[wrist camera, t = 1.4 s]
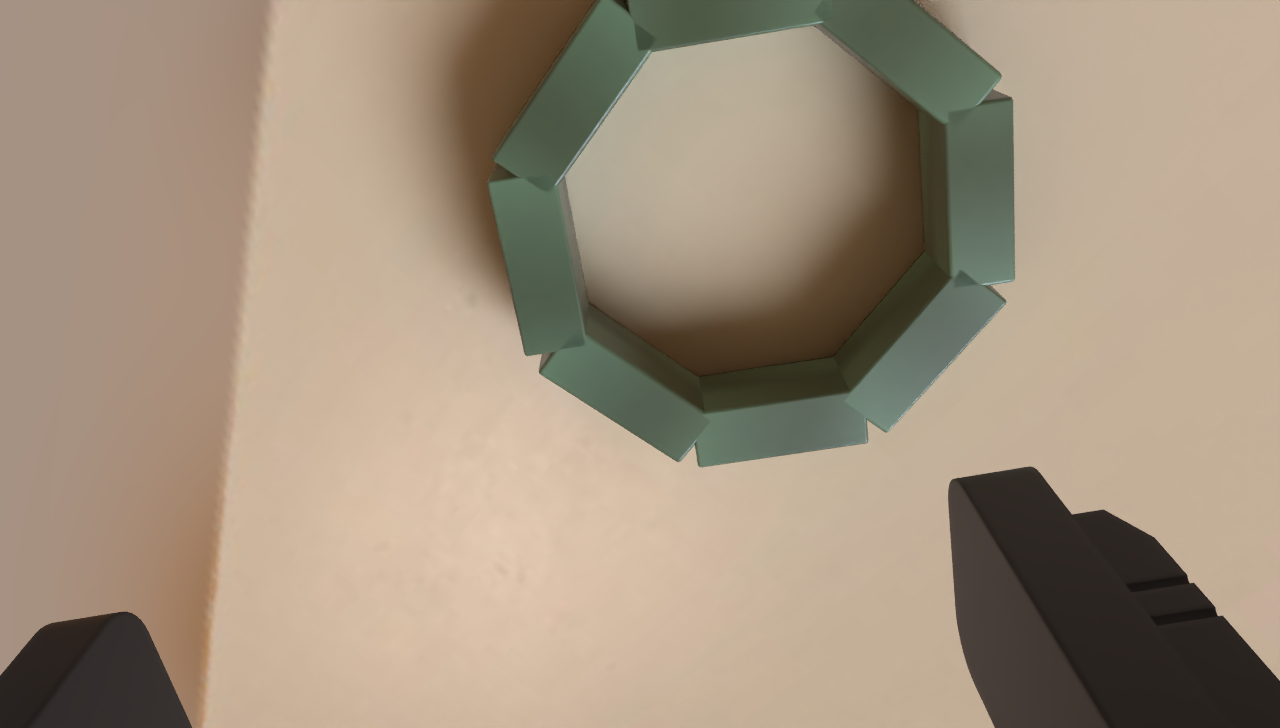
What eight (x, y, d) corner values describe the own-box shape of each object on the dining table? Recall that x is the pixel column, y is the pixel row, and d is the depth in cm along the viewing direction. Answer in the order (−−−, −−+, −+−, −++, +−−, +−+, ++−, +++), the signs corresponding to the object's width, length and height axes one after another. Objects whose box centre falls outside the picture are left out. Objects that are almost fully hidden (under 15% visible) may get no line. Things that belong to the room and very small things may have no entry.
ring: (558, 448, 25) (554, 490, 23) (463, 1, 21) (448, 7, 19) (988, 385, 25) (1018, 422, 23) (977, -86, 20) (1012, -88, 19)
